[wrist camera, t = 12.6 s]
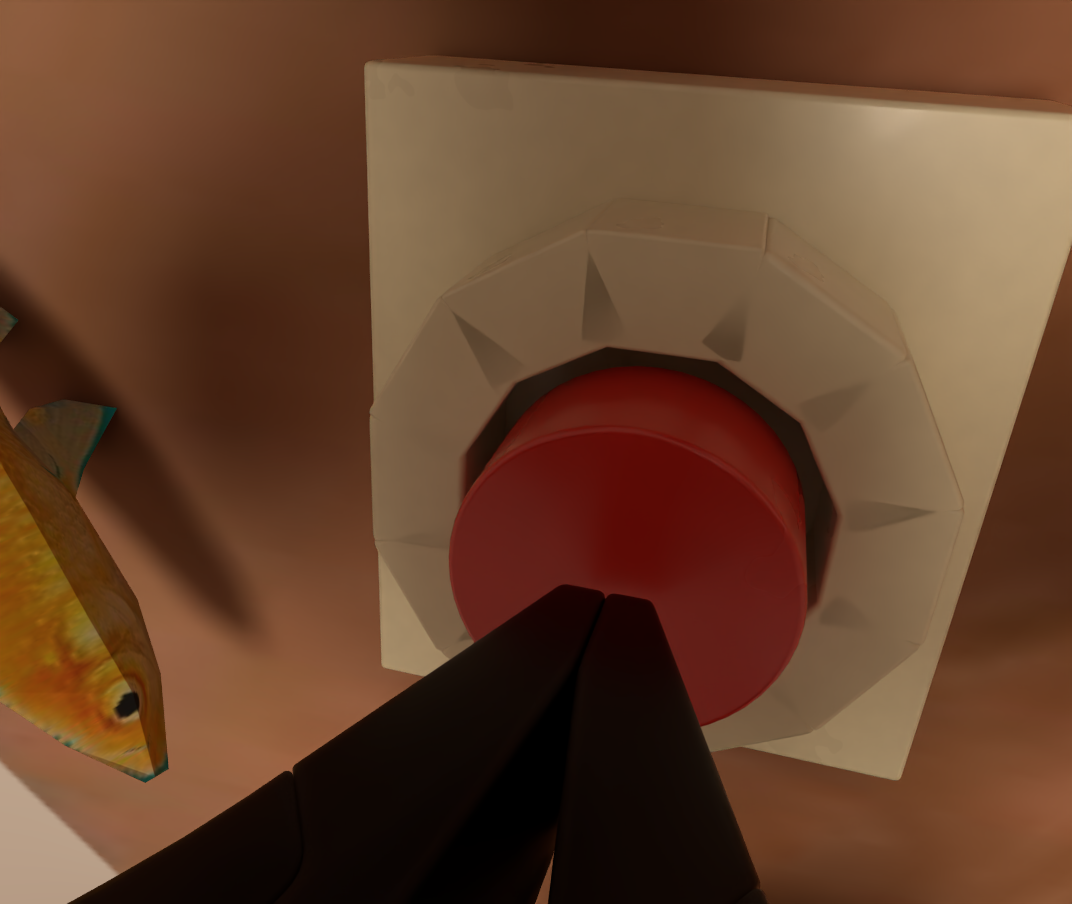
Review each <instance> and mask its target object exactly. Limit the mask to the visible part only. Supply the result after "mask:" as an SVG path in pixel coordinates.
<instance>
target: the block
mask: <svg viewBox="0 0 1072 904" xmlns="http://www.w3.org/2000/svg"><path fill="white" fill-rule="evenodd" d="M364 78H365V113H366V147H367V182H368V217H369V251H370V286H371V320H372V355H373V390H374V403H373V405H372V407H371V408H370V412H369V413H370V414H371V416H370V450H371V482H372V513H373V536H374V539H376V540H375V546H376V548H377V550H378V563H379V598H380V632H381V664H382V667H384V668H387V669H391V670H396V671H400V672H405V673H410V674H414V675H419V676H423V677H425V676H426V675H428V674H429V673H431V672H432V671H434V670H435V669H437V668H438V667H440V666H441V665H442V664H444V663H445V662H447V661H448V660H450V659H451V658H453V657H454V656H456V655H457V654H459V653H460V652H462V651H463V650H465V649H466V648H468V647H469V646H471V645H472V644H473V643H474V641H473V640H472V638H471V637H470V635H469V633H468V631H467V629H466V627H465V625H464V623H463V621H462V619H461V617H460V615H459V612H458V609H457V606H456V603H455V600H454V597H453V592H452V587H451V582H450V575H449V558H448V557H449V545H450V537H451V533H452V529H453V524H454V520H455V518H456V515H457V513H458V511H459V508H460V506H461V503H462V501H463V500H464V498H465V496H466V495H467V493H468V492H469V490H470V488H471V487H472V485H473V484H474V482H475V481H476V479H477V478H478V476H479V475H480V473H481V472H482V471H483V469H484V468H485V466H486V465H487V463H488V462H489V460H490V459H491V458H492V456H493V455H494V453H495V452H496V450H497V449H498V447H499V446H500V444H501V443H502V442H503V440H504V439H505V437H506V436H507V434H508V433H509V431H510V430H511V429H512V427H513V426H514V424H515V423H516V422H517V420H518V419H519V418H520V417H521V416H522V414H523V413H524V412H525V411H526V410H527V409H528V408H529V407H530V406H531V405H532V404H533V403H534V402H536V401H537V400H538V399H539V398H540V397H541V396H543V395H544V394H546V393H547V392H549V391H550V390H552V389H553V388H555V387H556V386H558V385H560V384H562V383H564V382H566V381H568V380H571V379H573V378H575V377H577V376H581V375H584V374H587V373H590V372H593V371H597V370H602V369H608V368H614V367H627V366H646V367H659V368H665V369H670V370H675V371H680V372H684V373H687V374H690V375H693V376H696V377H699V378H702V379H704V380H706V381H709V382H711V383H713V384H715V385H717V386H719V387H721V388H723V389H725V390H727V391H728V392H730V393H731V394H733V395H734V396H736V397H737V398H739V399H741V400H742V401H743V402H745V403H746V404H747V405H748V406H749V407H751V408H752V409H753V410H754V411H755V412H757V413H758V414H759V415H760V416H761V417H762V418H763V419H764V420H765V421H766V423H767V424H768V425H769V426H770V427H771V428H772V429H773V430H774V431H775V433H776V434H777V436H778V437H779V439H780V440H781V442H782V443H783V444H784V446H785V447H786V449H787V451H788V453H789V455H790V457H791V459H792V461H793V463H794V465H795V467H796V470H797V473H798V476H799V479H800V482H801V485H802V491H803V496H804V502H805V525H806V559H807V599H808V606H807V613H806V619H805V626H804V629H803V632H802V635H801V638H800V641H799V645H798V647H797V649H796V650H795V652H794V654H793V656H792V658H791V660H790V662H789V664H788V665H787V666H786V668H785V669H784V671H783V672H782V673H781V675H780V676H779V677H778V679H777V680H776V681H775V682H774V683H773V684H772V685H771V686H770V687H769V688H768V689H767V690H766V691H765V692H764V693H763V694H762V695H761V696H760V697H758V698H757V699H756V700H754V701H753V702H752V703H750V704H749V705H748V706H746V707H745V708H743V709H741V710H739V711H738V712H736V713H734V714H732V715H730V716H729V717H727V718H724V719H722V720H719V721H716V722H714V723H711V724H709V725H706V726H702V727H701V729H702V732H703V734H704V737H705V740H706V742H707V745H708V748H709V750H710V752H715V751H720V750H725V749H731V748H736V747H745V748H749V749H754V750H758V751H763V752H767V753H772V754H777V755H781V756H786V757H790V758H795V759H799V760H804V761H808V762H813V763H817V764H822V765H826V766H831V767H835V768H840V769H844V770H849V771H854V772H858V773H863V774H867V775H872V776H876V777H881V778H885V779H890V780H894V781H896V780H899V779H900V778H901V776H902V773H903V770H904V767H905V763H906V760H907V757H908V754H909V751H910V748H911V745H912V742H913V739H914V735H915V732H916V729H917V726H918V723H919V720H920V717H921V714H922V710H923V707H924V704H925V701H926V698H927V695H928V692H929V689H930V686H931V682H932V679H933V676H934V673H935V670H936V667H937V664H938V661H939V657H940V654H941V651H942V648H943V645H944V642H945V639H946V636H947V633H948V629H949V626H950V623H951V620H952V617H953V614H954V611H955V608H956V604H957V601H958V598H959V595H960V592H961V589H962V586H963V583H964V580H965V576H966V573H967V570H968V567H969V564H970V561H971V558H972V555H973V551H974V548H975V545H976V542H977V539H978V536H979V533H980V530H981V527H982V523H983V520H984V517H985V514H986V511H987V508H988V505H989V502H990V499H991V495H992V492H993V489H994V486H995V483H996V480H997V477H998V474H999V470H1000V467H1001V464H1002V461H1003V458H1004V455H1005V452H1006V449H1007V446H1008V442H1009V439H1010V436H1011V433H1012V430H1013V427H1014V424H1015V421H1016V417H1017V414H1018V411H1019V408H1020V405H1021V402H1022V399H1023V396H1024V393H1025V389H1026V386H1027V383H1028V380H1029V377H1030V374H1031V371H1032V368H1033V364H1034V361H1035V358H1036V355H1037V352H1038V349H1039V346H1040V343H1041V340H1042V336H1043V333H1044V330H1045V327H1046V324H1047V321H1048V318H1049V315H1050V311H1051V308H1052V305H1053V302H1054V299H1055V296H1056V293H1057V290H1058V287H1059V283H1060V280H1061V277H1062V274H1063V271H1064V268H1065V265H1066V262H1067V258H1068V255H1069V252H1070V249H1071V246H1072V106H1070V105H1066V104H1063V103H1059V102H1056V101H1053V100H1042V99H1028V98H1014V97H1000V96H987V95H973V94H959V93H946V92H932V91H918V90H904V89H891V88H877V87H863V86H849V85H836V84H822V83H808V82H794V81H781V80H767V79H753V78H739V77H726V76H712V75H698V74H684V73H671V72H657V71H643V70H630V69H616V68H602V67H588V66H575V65H561V64H547V63H533V62H520V61H506V60H492V59H478V58H465V57H451V56H437V55H427V56H416V57H404V58H393V59H381V60H371V61H368V62H366V63H365V67H364Z"/></svg>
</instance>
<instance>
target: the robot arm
mask: <svg viewBox="0 0 1072 904" xmlns="http://www.w3.org/2000/svg"><path fill="white" fill-rule="evenodd" d="M553 853H554V858H553V866H552V874H551V883H550V891H549V899H548V904H769V903H768V900H767V898H766V895H765V893H764V892H763V891H762V890H761V889H760V881H759V878H758V875H757V873H756V870H755V868H754V865H753V862H752V860H751V857H750V855H749V852H748V849H747V847H746V844H745V842H744V839H743V836H742V834H741V831H740V828H739V826H738V823H737V821H736V818H735V815H734V813H733V810H732V808H731V805H730V802H729V800H728V797H727V795H726V792H725V789H724V787H723V784H722V781H721V779H720V776H719V774H718V771H717V768H716V766H715V763H714V761H713V758H712V755H711V753H710V750H709V748H708V745H707V742H706V740H705V737H704V734H703V732H702V729H701V727H700V724H699V721H698V719H697V716H696V714H695V711H694V708H693V706H692V703H691V701H690V698H689V695H688V693H687V690H686V687H685V685H684V682H683V680H682V677H681V674H680V672H679V669H678V667H677V664H676V661H675V659H674V656H673V653H672V651H671V648H670V646H669V643H668V640H667V638H666V635H665V633H664V630H663V627H662V625H661V622H660V620H659V617H658V614H657V612H656V609H655V607H654V605H653V603H652V602H651V601H650V600H647V599H642V598H637V597H631V596H626V595H621V594H615V593H613V594H610V595H608V596H607V597H606V599H605V595H604V593H602V592H601V591H599V590H595V589H589V588H584V587H579V586H574V585H569V584H562V585H559V586H558V587H556V588H555V589H553V590H552V591H550V592H549V593H547V594H546V595H544V596H543V597H541V598H540V599H538V600H537V601H535V602H534V603H532V604H531V605H529V606H528V607H527V608H525V609H524V610H522V611H521V612H519V613H518V614H516V615H515V616H513V617H512V618H510V619H509V620H507V621H506V622H504V623H503V624H501V625H500V626H499V627H497V628H496V629H494V630H493V631H491V632H490V633H488V634H487V635H485V636H484V637H482V638H481V639H479V640H478V641H476V642H475V643H473V644H472V645H471V646H469V647H468V648H466V649H465V650H463V651H462V652H460V653H459V654H457V655H456V656H454V657H453V658H451V659H450V660H448V661H447V662H445V663H444V664H442V665H441V666H440V667H438V668H437V669H435V670H434V671H432V672H431V673H429V674H428V675H426V676H425V677H423V678H422V679H420V680H419V681H417V682H416V683H414V684H413V685H412V686H410V687H409V688H407V689H406V690H404V691H403V692H401V693H400V694H398V695H397V696H395V697H394V698H392V699H391V700H389V701H388V702H386V703H385V704H384V705H382V706H381V707H379V708H378V709H376V710H375V711H373V712H372V713H370V714H369V715H367V716H366V717H364V718H363V719H361V720H360V721H358V722H357V723H356V724H354V725H353V726H351V727H350V728H348V729H347V730H345V731H344V732H342V733H341V734H339V735H338V736H336V737H335V738H333V739H332V740H330V741H329V742H328V743H326V744H325V745H323V746H322V747H320V748H319V749H317V750H316V751H314V752H313V753H311V754H310V755H308V756H307V757H305V758H304V759H302V760H301V761H300V762H298V763H297V764H295V765H294V767H293V774H292V773H291V772H290V771H284V772H283V773H281V774H280V775H278V776H277V777H275V778H274V779H272V780H271V781H269V782H268V783H266V784H265V785H263V786H262V787H260V788H259V789H258V790H256V791H255V792H253V793H252V794H250V795H249V796H247V797H246V798H244V799H243V800H241V801H239V802H238V803H236V804H235V805H233V806H232V807H230V808H229V809H227V810H225V811H224V812H222V813H221V814H219V815H218V816H216V817H215V818H213V819H211V820H210V821H208V822H207V823H205V824H204V825H202V826H200V827H199V828H197V829H196V830H194V831H193V832H191V833H190V834H188V835H186V836H185V837H183V838H181V839H180V840H178V841H176V842H175V843H173V844H171V845H169V846H168V847H166V848H164V849H163V850H161V851H159V852H157V853H156V854H154V855H152V856H150V857H149V858H147V859H145V860H144V861H142V862H140V863H138V864H137V865H135V866H133V867H131V868H130V869H128V870H126V871H125V872H123V873H121V874H119V875H118V876H116V877H114V878H113V879H111V880H109V881H107V882H106V883H104V884H102V885H100V886H98V887H96V888H95V889H93V890H91V891H89V892H87V893H86V894H84V895H82V896H80V897H78V898H77V899H75V900H73V901H71V902H69V903H68V904H535V902H536V899H537V896H538V894H539V891H540V888H541V886H542V883H543V880H544V878H545V875H546V873H547V870H548V867H549V865H550V862H551V859H552V856H553Z"/></svg>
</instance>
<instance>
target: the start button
mask: <svg viewBox="0 0 1072 904" xmlns="http://www.w3.org/2000/svg"><path fill="white" fill-rule="evenodd" d="M448 558H449V575H450V582H451V587H452V592H453V597H454V600H455V603H456V606H457V609H458V612H459V615H460V617H461V619H462V621H463V623H464V625H465V627H466V629H467V631H468V633H469V635H470V637H471V638H472V640H473V641H474V643H475V642H476V641H478V640H479V639H481V638H482V637H484V636H485V635H487V634H488V633H490V632H491V631H493V630H494V629H496V628H497V627H499V626H500V625H501V624H503V623H504V622H506V621H507V620H509V619H510V618H512V617H513V616H515V615H516V614H518V613H519V612H521V611H522V610H524V609H525V608H527V607H528V606H529V605H531V604H532V603H534V602H535V601H537V600H538V599H540V598H541V597H543V596H544V595H546V594H547V593H549V592H550V591H552V590H553V589H555V588H556V587H558V586H559V585H562V584H569V585H574V586H579V587H584V588H589V589H595V590H599V591H601V592H602V593H604V595H605V599H606V597H607V596H608V595H610V594H613V593H615V594H621V595H626V596H631V597H637V598H642V599H647V600H650V601H651V602H652V603H653V605H654V607H655V609H656V612H657V614H658V617H659V620H660V622H661V625H662V627H663V630H664V633H665V635H666V638H667V640H668V643H669V646H670V648H671V651H672V653H673V656H674V659H675V661H676V664H677V667H678V669H679V672H680V674H681V677H682V680H683V682H684V685H685V687H686V690H687V693H688V695H689V698H690V701H691V703H692V706H693V708H694V711H695V714H696V716H697V719H698V721H699V724H700V727H702V726H706V725H709V724H711V723H714V722H716V721H719V720H722V719H724V718H727V717H729V716H730V715H732V714H734V713H736V712H738V711H739V710H741V709H743V708H745V707H746V706H748V705H749V704H750V703H752V702H753V701H754V700H756V699H757V698H758V697H760V696H761V695H762V694H763V693H764V692H765V691H766V690H767V689H768V688H769V687H770V686H771V685H772V684H773V683H774V682H775V681H776V680H777V679H778V677H779V676H780V675H781V673H782V672H783V671H784V669H785V668H786V666H787V665H788V664H789V662H790V660H791V658H792V656H793V654H794V652H795V650H796V649H797V647H798V645H799V641H800V638H801V635H802V632H803V629H804V626H805V619H806V613H807V606H808V599H807V559H806V525H805V502H804V496H803V491H802V485H801V482H800V479H799V476H798V473H797V470H796V467H795V465H794V463H793V461H792V459H791V457H790V455H789V453H788V451H787V449H786V447H785V446H784V444H783V443H782V442H781V440H780V439H779V437H778V436H777V434H776V433H775V431H774V430H773V429H772V428H771V427H770V426H769V425H768V424H767V423H766V421H765V420H764V419H763V418H762V417H761V416H760V415H759V414H758V413H757V412H755V411H754V410H753V409H752V408H751V407H749V406H748V405H747V404H746V403H745V402H743V401H742V400H741V399H739V398H737V397H736V396H734V395H733V394H731V393H730V392H728V391H727V390H725V389H723V388H721V387H719V386H717V385H715V384H713V383H711V382H709V381H706V380H704V379H702V378H699V377H696V376H693V375H690V374H687V373H684V372H680V371H675V370H670V369H665V368H659V367H646V366H627V367H614V368H608V369H602V370H597V371H593V372H590V373H587V374H584V375H581V376H577V377H575V378H573V379H571V380H568V381H566V382H564V383H562V384H560V385H558V386H556V387H555V388H553V389H552V390H550V391H549V392H547V393H546V394H544V395H543V396H541V397H540V398H539V399H538V400H537V401H536V402H534V403H533V404H532V405H531V406H530V407H529V408H528V409H527V410H526V411H525V412H524V413H523V414H522V416H521V417H520V418H519V419H518V420H517V422H516V423H515V424H514V426H513V427H512V429H511V430H510V431H509V433H508V434H507V436H506V437H505V439H504V440H503V442H502V443H501V444H500V446H499V447H498V449H497V450H496V452H495V453H494V455H493V456H492V458H491V459H490V460H489V462H488V463H487V465H486V466H485V468H484V469H483V471H482V472H481V473H480V475H479V476H478V478H477V479H476V481H475V482H474V484H473V485H472V487H471V488H470V490H469V492H468V493H467V495H466V496H465V498H464V500H463V501H462V503H461V506H460V508H459V511H458V513H457V515H456V518H455V520H454V524H453V529H452V533H451V537H450V545H449V557H448Z"/></svg>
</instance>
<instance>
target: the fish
mask: <svg viewBox="0 0 1072 904" xmlns="http://www.w3.org/2000/svg"><path fill="white" fill-rule="evenodd" d="M17 322H18V319H16V318H15V317H14V316H12V315H11V314H10V313H8V312H7V311H6V310H4V309H3V308H1V307H0V342H1V341H2V340H3V339H4V338H5V336H6V335H7V334H8V333H9V331H10V330H11V329H12V328H13V327H14V325H15V324H16V323H17ZM116 409H117V408H113V407H107V406H101V405H95V404H89V403H83V402H77V401H71V400H65V399H63V400H60V401H56V402H53V403H49V404H45V405H42V406H38V407H35V408H31V409H29V410H28V412H27V413H26V414H25V415H24V417H23V418H22V419H21V421H20V422H19V423H18V424H17V426H16V427H15V428H14V429H13V428H12V427H11V425H10V423H9V421H8V420H7V418H6V416H5V414H4V413H3V411H2V409H1V407H0V702H1V703H3V704H4V705H6V706H7V707H9V708H10V709H12V710H13V711H15V712H16V713H18V714H19V715H21V716H22V717H24V718H25V719H27V720H28V721H29V722H31V723H32V724H34V725H35V726H37V727H38V728H40V729H41V730H43V731H44V732H46V733H47V734H49V735H50V736H52V737H53V738H55V739H56V740H58V741H59V742H61V743H62V744H64V745H65V746H67V747H70V748H72V749H74V750H76V751H78V752H80V753H82V754H85V755H87V756H89V757H91V758H93V759H95V760H98V761H100V762H102V763H104V764H106V765H108V766H110V767H113V768H115V769H117V770H119V771H121V772H123V773H125V774H128V775H130V776H132V777H134V778H136V779H138V780H141V781H143V782H145V783H146V782H147V781H149V780H151V779H153V778H154V777H156V776H158V775H159V774H161V773H162V772H164V771H166V770H167V769H169V768H168V756H167V744H166V732H165V720H164V708H163V696H162V684H161V673H160V670H159V667H158V664H157V661H156V657H155V654H154V651H153V648H152V645H151V641H150V638H149V635H148V632H147V629H146V625H145V622H144V619H143V616H142V613H141V609H140V606H139V603H138V600H137V598H136V596H135V595H134V593H133V591H132V590H131V588H130V586H129V585H128V583H127V581H126V580H125V578H124V576H123V575H122V573H121V571H120V570H119V568H118V567H117V565H116V563H115V562H114V560H113V558H112V557H111V555H110V553H109V552H108V550H107V548H106V547H105V545H104V543H103V542H102V540H101V539H100V537H99V535H98V534H97V532H96V530H95V529H94V527H93V525H92V524H91V522H90V520H89V519H88V517H87V515H86V514H85V512H84V511H83V509H82V507H81V506H80V504H79V502H78V501H77V499H76V494H77V490H78V487H79V484H80V480H81V477H82V474H83V470H84V468H85V466H86V464H87V462H88V460H89V458H90V457H91V455H92V453H93V451H94V449H95V447H96V446H97V444H98V442H99V440H100V438H101V436H102V435H103V433H104V431H105V429H106V427H107V425H108V424H109V422H110V420H111V418H112V416H113V414H114V412H115V411H116Z"/></svg>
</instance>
